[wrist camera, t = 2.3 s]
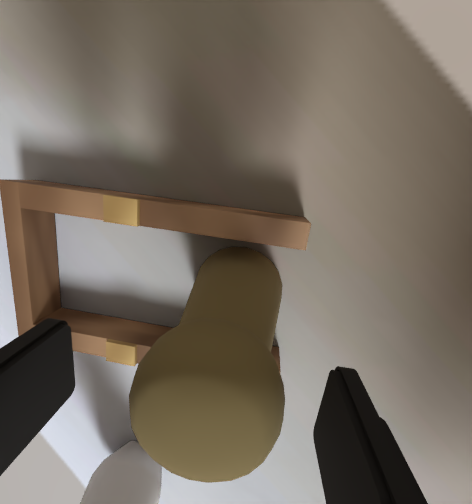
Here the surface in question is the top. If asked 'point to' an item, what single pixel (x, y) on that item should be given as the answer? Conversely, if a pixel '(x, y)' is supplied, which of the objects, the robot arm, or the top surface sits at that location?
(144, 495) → the salt shaker
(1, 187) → the wooden u-shaped frame
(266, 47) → the top surface
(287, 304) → the top surface
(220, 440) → the pepper shaker
